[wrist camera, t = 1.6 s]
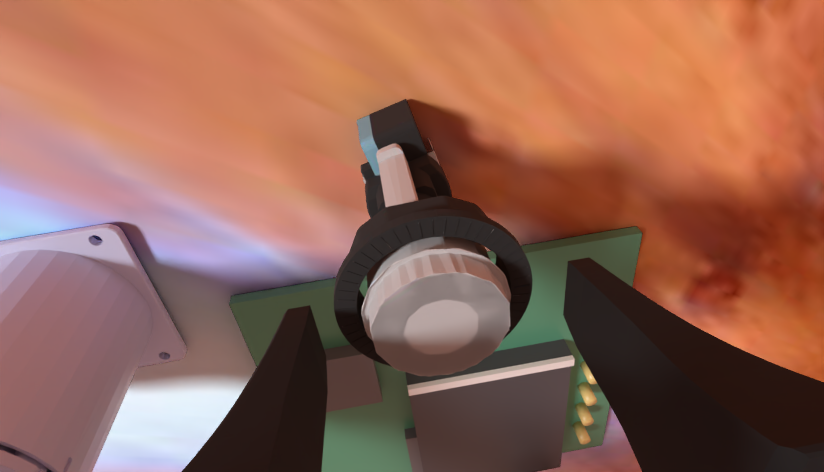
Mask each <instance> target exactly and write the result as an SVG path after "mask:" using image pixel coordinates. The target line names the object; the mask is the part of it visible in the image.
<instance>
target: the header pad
mask: <svg viewBox="0 0 824 472" xmlns="http://www.w3.org/2000/svg"><path fill="white" fill-rule="evenodd" d="M574 361H575V359H574V357H573V355H572V353H571V352H570V350H569V348H568V346H567V344H566V342H565V340H564V339H560V340H555V341H549V342H544V343H538V344H533V345H527V346H522V347H516V348H511V349H505V350H500V351H494V352H493V353H492V354H491V355H489V356H488V357H486V358H484V359H483V360H482V361H481V362H479V363H478V364H477V365H474V366H471V367H469V368H467V369H465V370H464V371H458V372H455V373H452V374H449V375H436V376H430V377H429V376H418V375H415V374H411V373H408V372H405V374H406V380H407V387H408V393H409V397H410V403H411V408H412V414H413V419H414V424H415V430H416V435H417V441H418V446H419V451H420V457H421V462H422V467H423V472H537V471H542V470H547V469H552V468H557V467H560V464H561V455H562V446H563V437H564V428H565V418H566V409H567V400H568V391H569V382H570V373H571V366H574Z"/></svg>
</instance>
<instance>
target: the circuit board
mask: <svg viewBox="0 0 824 472" xmlns="http://www.w3.org/2000/svg"><path fill="white" fill-rule="evenodd" d="M641 238H642V232H641V231H640V230H639V229H638V228H637V226H634V227H629V228H623V229H617V230H611V231H605V232H600V233H594V234H588V235H582V236H576V237H571V238H565V239H559V240H553V241H547V242H542V243H536V244H530V245H524V246H521V248H522V249H523V251H524V253H525V255H526V257H527V259H528V261H529V264H530V267H531V271H532V279H533V282H532V293H531V298H530V301H529V304H528V307H527V309H526V311H525V313H524V315H523V317H522V318H521V320H520V321H519V323H518V324H517V326H516V327H515V328H514V329H513V330H512V331H511V333H509V334H508V335H507V336H506V337H505V338H504V339H503V340H502V342H501V344H500V346H499V347H498V348H497V349H496V350H495V351H500V350H505V349H511V348H516V347H522V346H527V345H533V344H538V343H544V342H549V341H555V340H560V339H564V340H565V342H566V344H567V346H568V348H569V350H570V352H571V353H572V355H573V357H574V359H575V361H574V366H571V373H570V382H569V391H568V400H567V409H566V418H565V428H564V437H563V446H562V453H563V452H569V451H574V450H579V449H584V448H589V447H595V446H600V445H602V443H603V438H604V433H605V427H606V422H607V417H608V412H609V406H610V404H609V402H608V401H607V399H606V397H605V396H604V394H603V392H602V390H601V389H600V387H599V385H598V383H597V382H596V380H595V378H594V377H593V375H592V373H591V371H590V370H589V368H588V366H587V364H586V363H585V361H584V359H583V357H582V356H581V354H580V352H579V350H578V349H577V347H576V345H575V342H574V340H573V338H572V335H571V333H570V331H569V328H568V326H567V323H566V321H565V318H564V316H563V310H564V299H565V288H566V276H567V265H568V261H571V260H577V259H582V258H588V257H589V258H591V259H592V260H594V261H595V262H597V263H598V264H600V265H601V266H603V267H604V268H605V269H607V270H608V271H610V272H611V273H613V274H614V275H615V276H617V277H618V278H620V279H621V280H622V281H624V282H625V283H627V284H628V285H630V286H631V287H632V286H633V280H634V275H635V270H636V265H637V259H638V254H639V249H640V244H641ZM487 253H488V256H489V258H490V260H491V261H492V262H493V263H494V264H496V254H495V253H494V252H493V251H489V252H487ZM335 281H336V278H333V279H327V280H321V281H315V282H309V283H304V284H298V285H292V286H286V287H280V288H275V289H269V290H263V291H257V292H251V293H246V294H240V295H234V296H231V299H230V303H229V305H230V308H231V310H232V312H233V314H234V317H235V319H236V321H237V323H238V326H239V328H240V330H241V332H242V334H243V337H244V339H245V341H246V343H247V346H248V348H249V350H250V352H251V355H252V357H253V359H254V361H255V364H256V366H258V365H259V363H260V361H261V359H262V357H263V356H264V354H265V352H266V350H267V348H268V346H269V344H270V342H271V340H272V339H273V337H274V335H275V333H276V331H277V328H278V326H279V324H280V322H281V320H282V318H283V316H284V314H285V312H286V311H287V310H288V309H292V308H297V307H303V306H309V305H310V307H311V310H312V313H313V316H314V319H315V322H316V326H317V329H318V332H319V335H320V338H321V341H322V345H323V348H324V351H325V354H326V361H327V385H328V394H327V408H326V421H325V433H324V446H323V458H322V472H423V467H422V462H421V457H420V451H419V446H418V441H417V435H416V430H415V424H414V419H413V414H412V408H411V403H410V397H409V393H408V387H407V380H406V374H405V372H403V371H398V370H397V369H394V368H393V367H391V366H388V365H385V364H381V363H379V362H376V361H374V360H372V359H370V358H368V357H366V356H365V355H363V354H362V353H360V352H359V351H358V350H357V349H355V348H354V347H353V346H352V345H351V344H350V343H349V342H348V341H347V339H346V338H345V337H344V335H343V334H342V332H341V330H340V328H339V326H338V323H337V321H336V317H335V312H334V286H335ZM359 290H360V291H361V293H362V295H363V296H364V297H366V294H367V291H368V287H367V275H366V276H365V278H364V280H363V281H362V283H361V286H360V288H359Z"/></svg>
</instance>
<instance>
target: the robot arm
mask: <svg viewBox="0 0 824 472" xmlns="http://www.w3.org/2000/svg"><path fill="white" fill-rule="evenodd" d="M93 235H96V236H99V237H100V238H101V239H102V240H97V239H95V238H94V237H93ZM563 316H564V318H565V321H566V323H567V326H568V328H569V331H570V333H571V335H572V338H573V340H574V342H575V345H576V347H577V349H578V350H579V352H580V354H581V356H582V357H583V359H584V361H585V363H586V364H587V366H588V368H589V370H590V371H591V373H592V375H593V377H594V378H595V380H596V382H597V383H598V385H599V387H600V389H601V390H602V392H603V394H604V396H605V397H606V399H607V401H608V402H609V404H610V406H611V408H612V409H613V411H614V413H615V414H616V416H617V418H618V420H619V422H620V424H621V426H622V428H623V430H624V432H625V434H626V436H627V438H628V441H629V443H630V445H631V447H632V449H633V452H634V454H635V456H636V458H637V461H638V463H639V465H640V467H641V470H642V472H824V382H821V381H818V380H815V379H813V378H810V377H807V376H804V375H802V374H799V373H796V372H793V371H791V370H788V369H786V368H783V367H781V366H778V365H776V364H773V363H771V362H768V361H766V360H764V359H761V358H759V357H757V356H755V355H752V354H750V353H748V352H745V351H743V350H741V349H739V348H737V347H734V346H732V345H730V344H728V343H726V342H724V341H722V340H720V339H718V338H716V337H714V336H712V335H710V334H708V333H706V332H704V331H703V330H701V329H699V328H697V327H695V326H693V325H692V324H690V323H688V322H686V321H685V320H683V319H681V318H680V317H678V316H676V315H675V314H673V313H671V312H669V311H668V310H666V309H665V308H663V307H661V306H660V305H658V304H657V303H655V302H654V301H652V300H650V299H649V298H647V297H646V296H644V295H643V294H641V293H640V292H638V291H637V290H635V289H634V288H633V287H631V286H630V285H628V284H627V283H625V282H624V281H622V280H621V279H620V278H618V277H617V276H615V275H614V274H613V273H611V272H610V271H608V270H607V269H605V268H604V267H603V266H601V265H600V264H598V263H597V262H595V261H594V260H592V259H591V258H589V257H588V258H582V259H577V260H571V261H568V265H567V276H566V288H565V299H564V310H563ZM163 352H166V353H163ZM186 352H187V347H186V345H185V343H184V341H183V340H182V338H181V336H180V334H179V332H178V330H177V329H176V327H175V325H174V323H173V321H172V320H171V318H170V316H169V314H168V312H167V310H166V309H165V307H164V305H163V303H162V301H161V300H160V298H159V296H158V294H157V292H156V290H155V289H154V287H153V285H152V283H151V281H150V280H149V278H148V276H147V274H146V272H145V270H144V269H143V267H142V265H141V263H140V261H139V260H138V258H137V256H136V254H135V252H134V250H133V249H132V247H131V245H130V243H129V241H128V240H127V238H126V236H125V234H124V232H123V231H122V230H121V229H120V228H119V227H118V226H116V225H113V224H102V225H96V226H90V227H84V228H77V229H71V230H65V231H59V232H53V233H47V234H41V235H35V236H29V237H23V238H17V239H10V240H4V241H0V472H92V471H93V468H94V466H95V464H96V461H97V459H98V457H99V455H100V452H101V450H102V448H103V445H104V443H105V441H106V438H107V436H108V434H109V431H110V429H111V427H112V424H113V422H114V420H115V418H116V415H117V413H118V411H119V408H120V406H121V404H122V401H123V399H124V397H125V394H126V392H127V390H128V387H129V385H130V383H131V381H132V378H133V376H134V374H135V371H136V369H137V367H142V366H148V365H154V364H159V363H165V362H171V361H176V360H180V359H183V358H184V357H185V355H186ZM327 394H328V385H327V361H326V354H325V351H324V348H323V345H322V341H321V338H320V335H319V332H318V329H317V326H316V322H315V319H314V316H313V313H312V310H311V307H310V305H309V306H303V307H297V308H292V309H288V310H287V311H286V312H285V314H284V316H283V318H282V320H281V322H280V324H279V326H278V328H277V331H276V333H275V335H274V337H273V339H272V340H271V342H270V344H269V346H268V348H267V350H266V352H265V354H264V356H263V357H262V359H261V361H260V363H259V365H258V366H257V368H256V370H255V372H254V373H253V375H252V377H251V378H250V380H249V382H248V383H247V385H246V386H245V388H244V390H243V391H242V393H241V394H240V396H239V398H238V399H237V401H236V402H235V404H234V405H233V407H232V408H231V410H230V411H229V413H228V414H227V415H226V417H225V418H224V420H223V421H222V422H221V424H220V425H219V426H218V428H217V429H216V430H215V432H214V433H213V434H212V436H211V437H210V438H209V440H208V441H207V442H206V443H205V444H204V446H203V447H202V448H201V449H200V451H199V452H198V453H197V454H196V456H195V457H194V458H193V459H192V460H191V462H190V463H189V464H188V465H187V466H186V467H185V468H184V470H183V471H182V472H322V458H323V446H324V433H325V421H326V408H327Z"/></svg>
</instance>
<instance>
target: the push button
mask: <svg viewBox="0 0 824 472" xmlns="http://www.w3.org/2000/svg"><path fill="white" fill-rule="evenodd" d="M357 125H358V130H359V140H360V144H361V147H362V149H363V151H364V153H365V155H366V158H367V160H368V162H367V163H365V164H363V165H361V173H362V175H363V178H364V179H363V181H364V183H365V193H366V202H367V209H368V212H369V215H370V217H371V219H370V220H368V221H367V222H366V223H365V224H363V225H362V226H361V227H360V228H359V229H358V230H357V233H356V236H355V238H354V241H353V244H352V247H351V249H350V252H349V254H348V255H347V257H346V258H345V260H344V261H343V263H342V265H341V267H340V269H339V272H338V275H337V277H336V281H335V286H334V312H335V317H336V321H337V323H338V326H339V328H340V330H341V332H342V334H343V335H344V337H345V338H346V339H347V341H348V342H349V343H350V344H351V345H352V346H353V347H354V348H355V349H357V350H358V351H359V352H360V353H362V354H363V355H365V356H366V357H368V358H370V359H372V360H374V361H376V362H379V363H381V364H385V365H388V366H391V367H393V368H394V369H397V370H398V371H403V372H408V373H411V374H415V375H418V376H429V377H430V376H436V375H449V374H452V373H455V372H458V371H464V370H465V369H467V368H469V367H471V366H474V365H477V364H478V363H479V362H481V361H482V360H483V359H484V358H486V357H488V356H489V355H491V354H492V353H493V352H494V351H495V350H496V349H497V348H498V347H499V346H500V344H501V342H502V340H503V339H504V338H505V337H506V336H507V335H508V334H509V333H511V331H512V330H513V329H514V328H515V327H516V326H517V324H518V323H519V321H520V320H521V318H522V317H523V315H524V313H525V311H526V309H527V307H528V304H529V301H530V298H531V293H532V282H533V279H532V271H531V267H530V264H529V261H528V259H527V257H526V255H525V253H524V251H523V249H522V248H521V246H520V244H519V243H518V241H517V240H516V239H515V237H514V236H513V235H512V234H511V233H510V232H509V231H508V230H507V229H505V228H504V227H503V226H501V225H500V224H499V223H497V222H495V221H493V220H491V219H490V218H488V217H487V216H486V215H485V214H484V212H483V211H482V210H481V209H480V208H479V207H478V206H477V205H476V204H474V203H470V202H467V201H463V200H460V199H456V198H452V195H451V189H450V186H449V183H448V181H447V178H446V176H445V174H444V172H443V170H442V168H441V166H440V164H439V161H438V159H437V156H436V154H435V151H434V149H433V146H432V144H431V141H430V139H429V138H427V139H428V142H429V144H430V147H431V149H432V151H431V152H429V153H427V151H426V148H425V146H424V143H423V141H422V138H421V135H420V133H419V130H418V128H417V125H416V122H415V120H414V117H413V115H412V112H411V110H410V107H409V105H408V102H407V100H406V99H405V100H403V101H400V102H398V103H395V104H393V105H391V106H388V107H386V108H384V109H381V110H379V111H377V112H374V113H372V114H370V115H368V116H365V117H363V118H361V119H358V120H357ZM484 246H485V247H487V248H488V249H490V250H491V251H493V252H494V253H495V254H496V264H494V263H493V262H492V261H491V260H490V258H489V256H488V253H487V251H486V249H485V247H484ZM366 275H367V287H368V291H367V294H366V297H364V296H363V295H362V293H361V291H360V290H359V288H360V286H361V283H362V281H363V280H364V278H365V276H366Z"/></svg>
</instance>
